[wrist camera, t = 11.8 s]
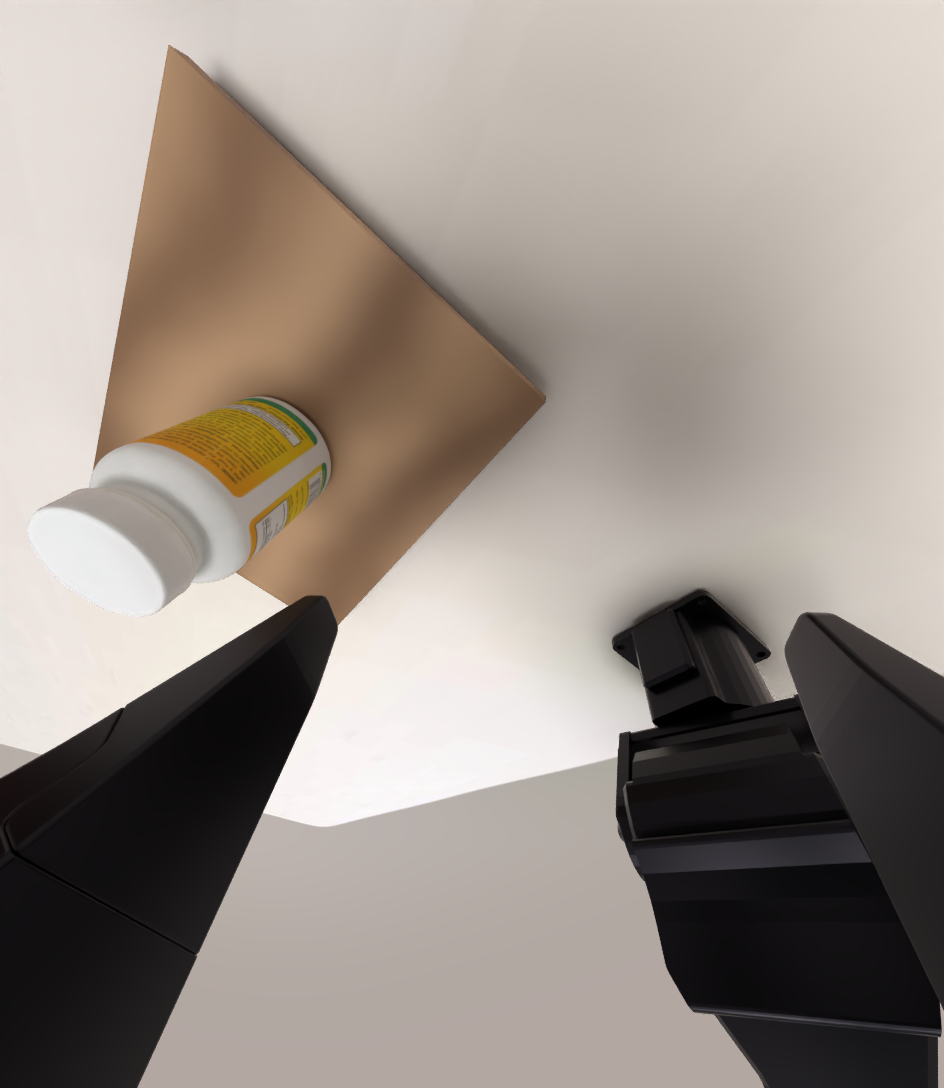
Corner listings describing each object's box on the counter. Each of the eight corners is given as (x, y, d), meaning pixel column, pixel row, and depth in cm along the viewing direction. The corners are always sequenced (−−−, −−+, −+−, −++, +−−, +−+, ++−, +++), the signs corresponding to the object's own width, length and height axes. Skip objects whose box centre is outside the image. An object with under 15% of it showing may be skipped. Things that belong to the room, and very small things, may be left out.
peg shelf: (546, 389, 18) (545, 401, 16) (343, 611, 28) (331, 632, 26) (213, 71, 14) (168, 44, 12) (122, 467, 24) (91, 481, 23)
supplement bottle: (348, 496, 20) (220, 637, 12) (258, 501, 21) (88, 633, 14) (310, 386, 17) (110, 479, 9) (208, 398, 18) (-45, 491, 11)
